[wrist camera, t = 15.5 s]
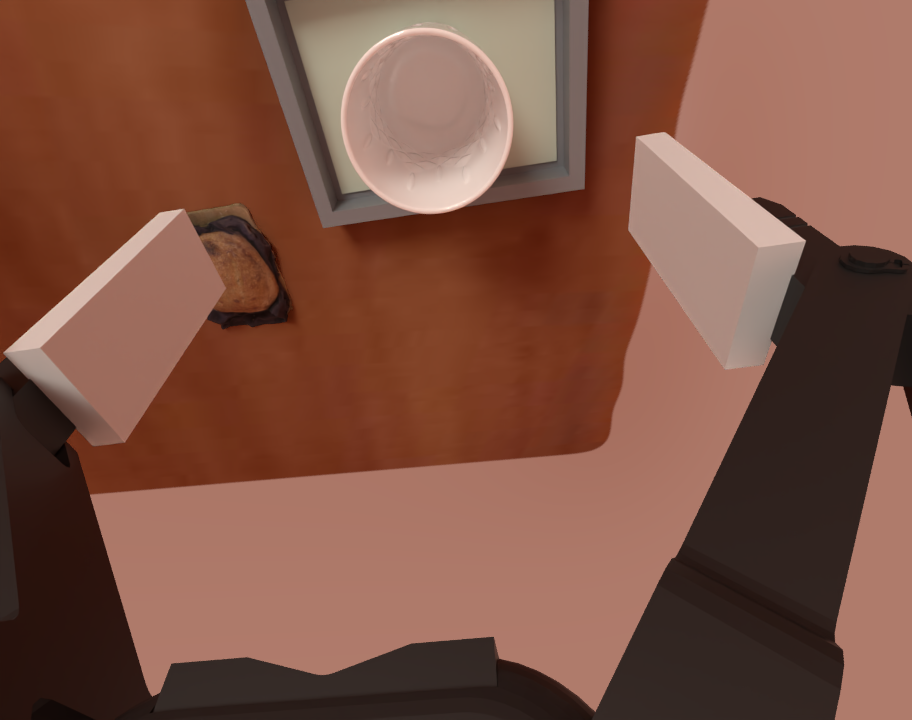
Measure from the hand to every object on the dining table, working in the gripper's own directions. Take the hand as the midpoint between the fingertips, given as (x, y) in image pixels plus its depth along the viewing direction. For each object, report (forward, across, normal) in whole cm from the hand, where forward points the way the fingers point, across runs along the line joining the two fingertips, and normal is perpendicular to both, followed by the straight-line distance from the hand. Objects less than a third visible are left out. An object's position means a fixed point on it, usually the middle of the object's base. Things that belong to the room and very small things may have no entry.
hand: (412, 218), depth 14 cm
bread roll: (+22, -18, -11) cm, 31 cm away
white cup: (+20, 0, 0) cm, 20 cm away
